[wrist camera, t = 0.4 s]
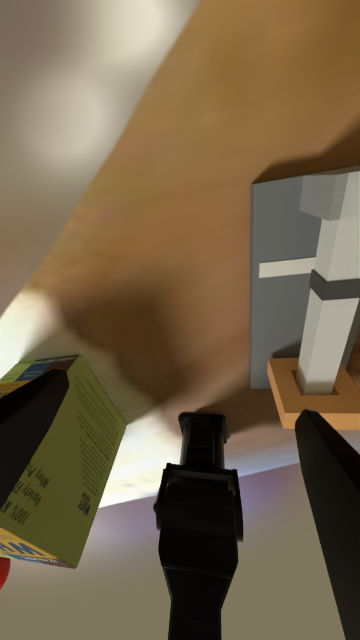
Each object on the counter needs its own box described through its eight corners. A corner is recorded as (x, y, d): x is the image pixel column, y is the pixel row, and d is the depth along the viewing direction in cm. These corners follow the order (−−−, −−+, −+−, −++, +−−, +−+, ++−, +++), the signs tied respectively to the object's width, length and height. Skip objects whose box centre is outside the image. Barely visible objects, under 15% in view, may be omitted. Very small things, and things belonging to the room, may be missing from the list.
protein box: (80, 351, 27) (-38, 508, 14) (128, 425, 35) (78, 570, 22) (15, 361, 30) (-136, 502, 17) (72, 428, 37) (-1, 560, 25)
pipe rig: (333, 377, 25) (364, 429, 19) (249, 379, 26) (258, 427, 21) (396, 158, 14) (500, 147, 9) (250, 183, 16) (269, 186, 11)
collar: (331, 371, 22) (368, 430, 17) (267, 373, 23) (282, 428, 18) (335, 356, 21) (376, 413, 16) (268, 358, 22) (285, 412, 17)
